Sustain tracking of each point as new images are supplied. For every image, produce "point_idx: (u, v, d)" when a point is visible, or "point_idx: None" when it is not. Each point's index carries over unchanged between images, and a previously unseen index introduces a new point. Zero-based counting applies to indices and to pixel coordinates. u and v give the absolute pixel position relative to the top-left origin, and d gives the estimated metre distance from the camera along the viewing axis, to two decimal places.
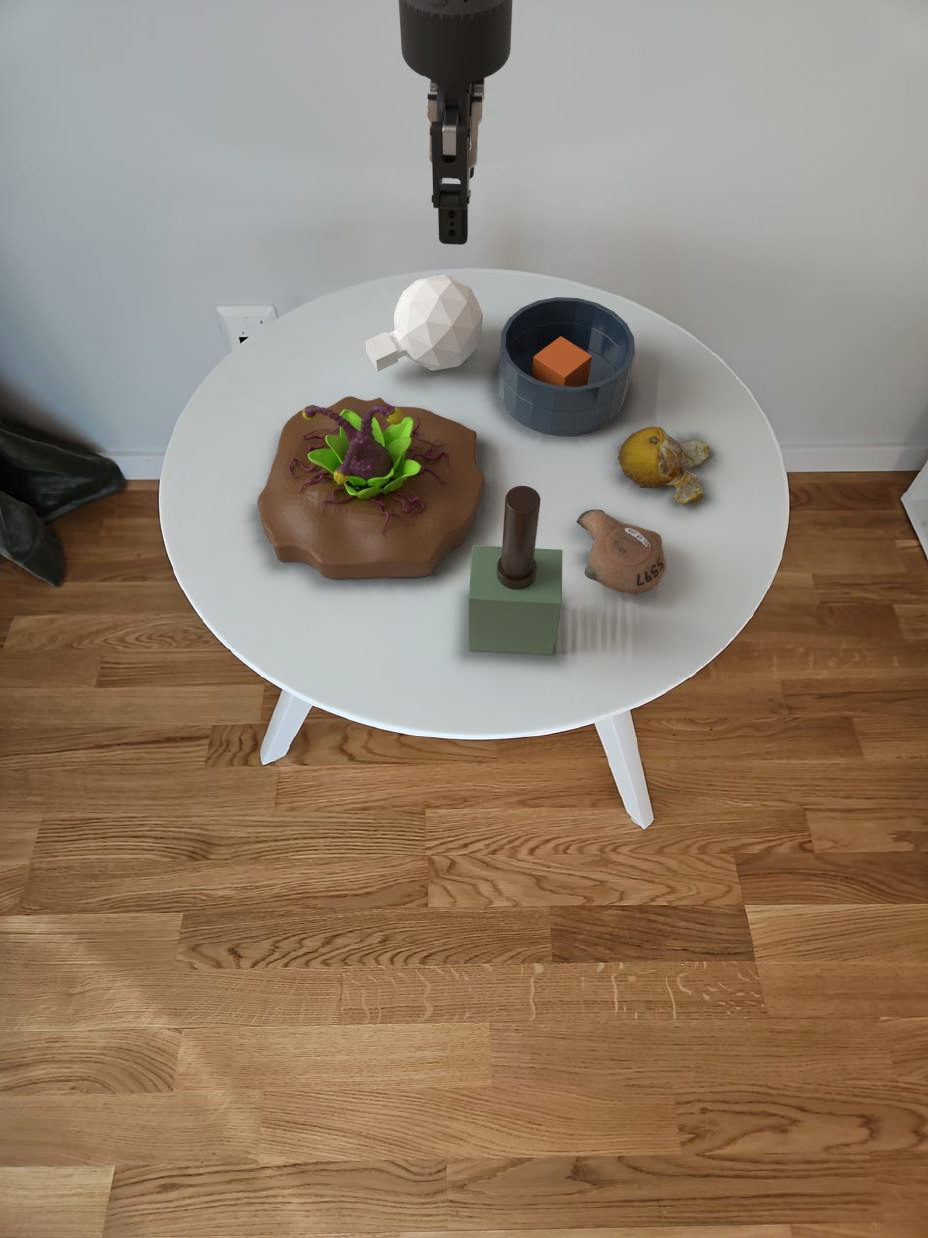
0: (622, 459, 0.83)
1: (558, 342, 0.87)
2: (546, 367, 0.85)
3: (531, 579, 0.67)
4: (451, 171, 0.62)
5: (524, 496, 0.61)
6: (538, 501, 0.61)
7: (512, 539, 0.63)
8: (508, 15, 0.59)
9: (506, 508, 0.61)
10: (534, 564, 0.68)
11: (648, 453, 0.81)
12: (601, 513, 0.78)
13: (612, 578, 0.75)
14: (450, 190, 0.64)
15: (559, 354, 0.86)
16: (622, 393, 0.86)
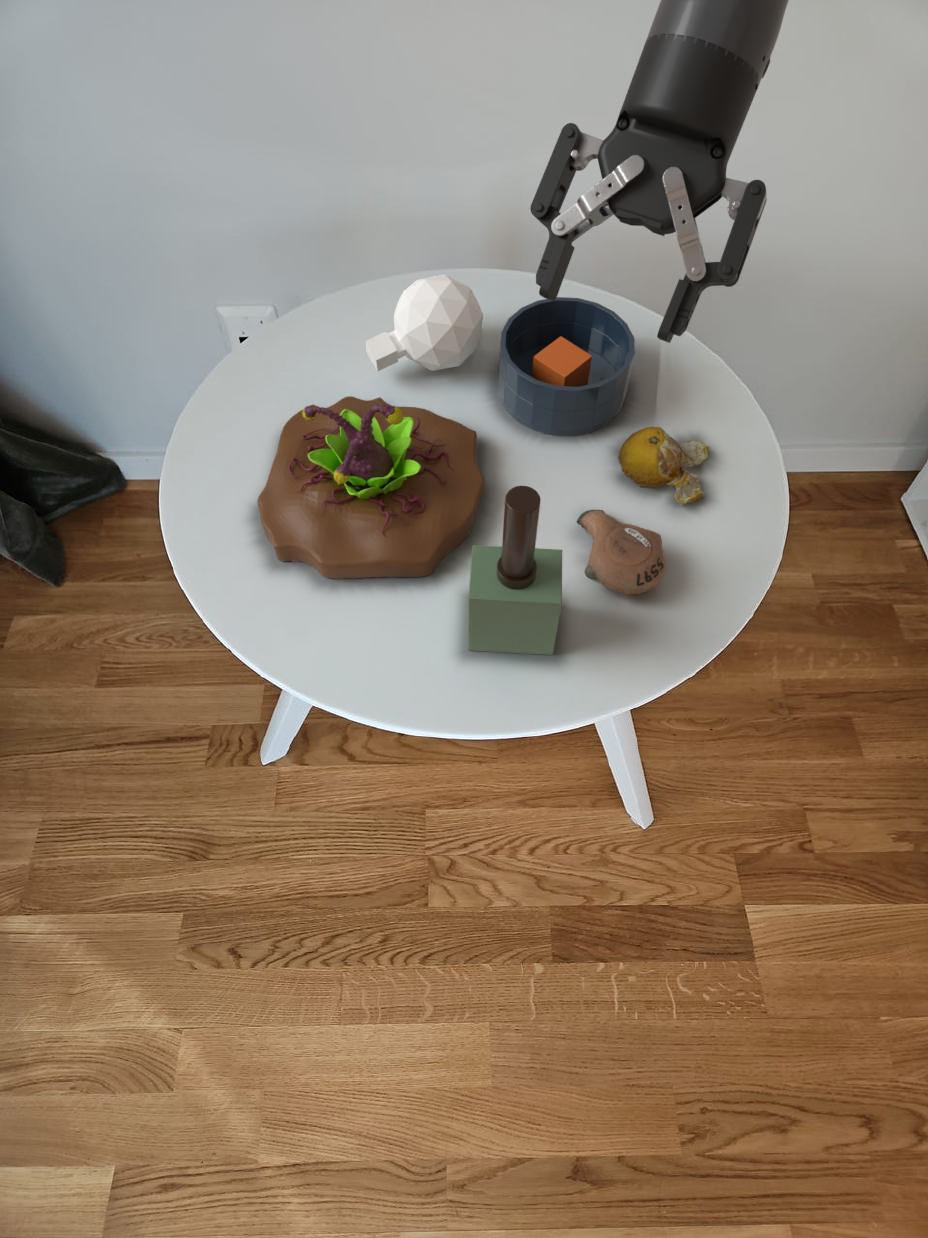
0: (622, 459, 0.83)
1: (558, 342, 0.87)
2: (546, 367, 0.85)
3: (531, 579, 0.67)
4: None
5: (524, 496, 0.61)
6: (538, 501, 0.61)
7: (512, 539, 0.63)
8: (669, 54, 0.53)
9: (506, 508, 0.61)
10: (534, 564, 0.68)
11: (648, 453, 0.81)
12: (601, 513, 0.78)
13: (612, 578, 0.75)
14: None
15: (559, 354, 0.86)
16: (622, 393, 0.86)
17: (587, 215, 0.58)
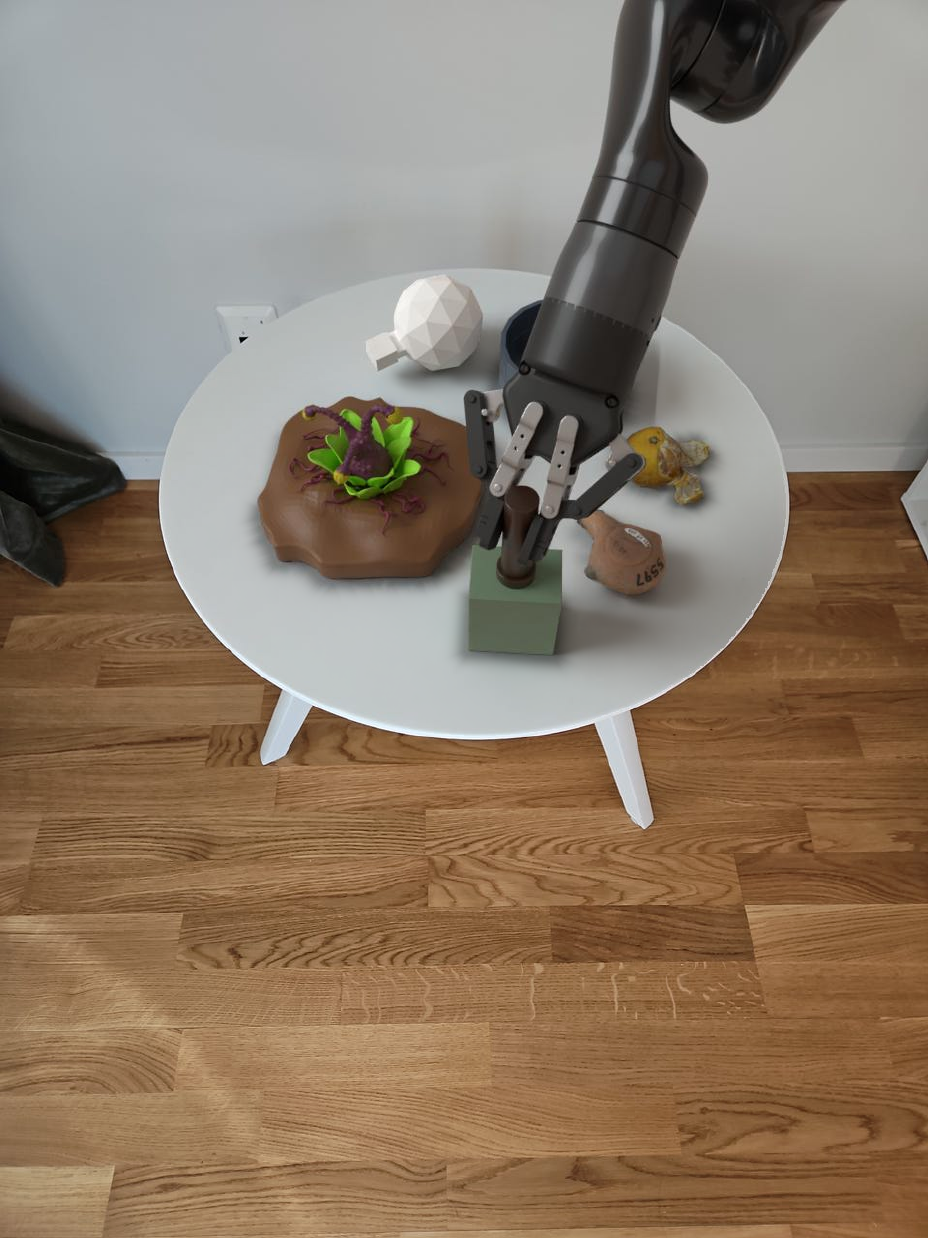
0: None
1: None
2: None
3: (530, 579, 0.67)
4: None
5: (523, 496, 0.61)
6: (537, 501, 0.61)
7: (511, 539, 0.63)
8: (561, 320, 0.56)
9: (505, 508, 0.61)
10: (533, 564, 0.68)
11: (647, 453, 0.81)
12: (601, 513, 0.78)
13: (612, 578, 0.75)
14: (489, 462, 0.63)
15: None
16: None
17: (516, 468, 0.61)
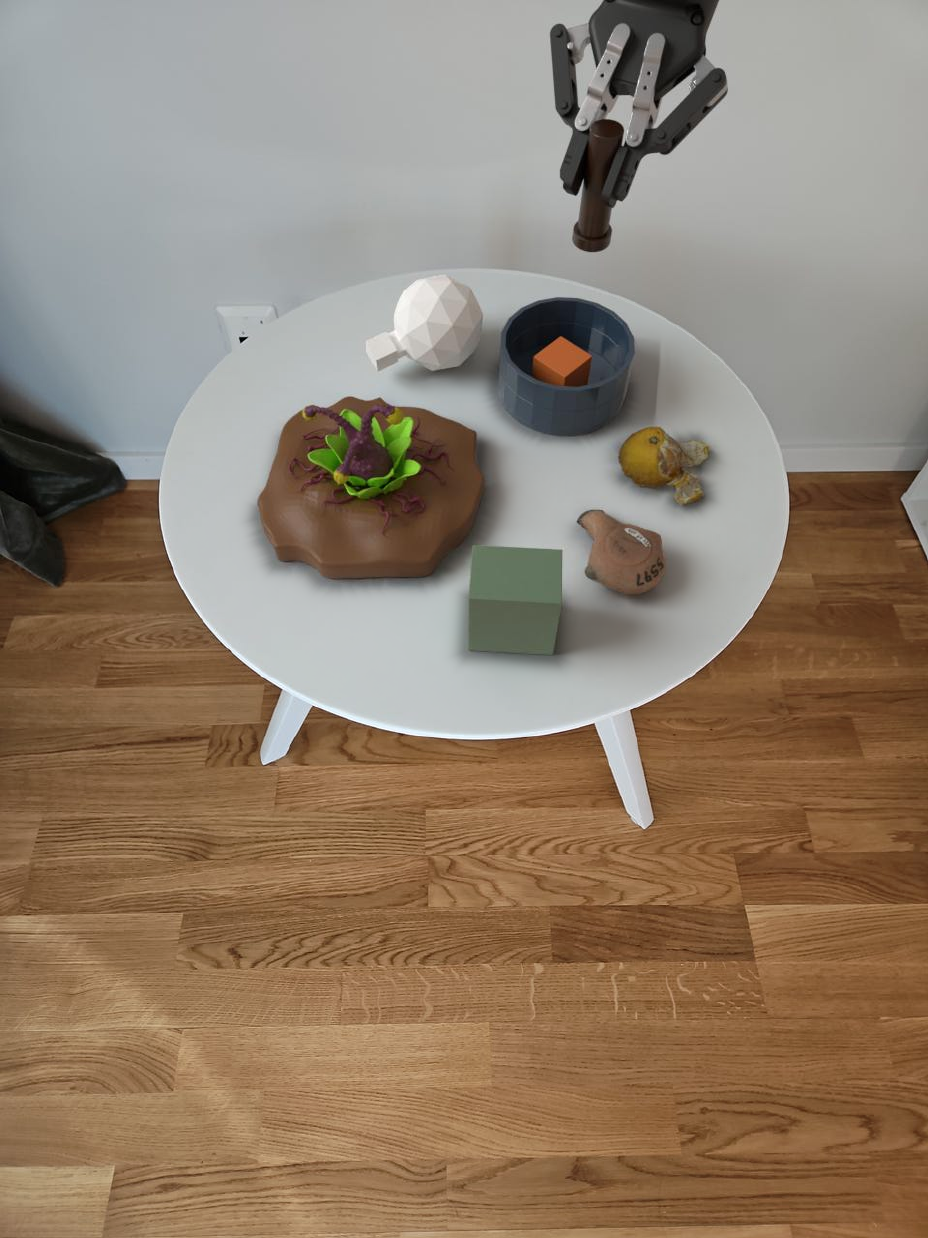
0: (622, 459, 0.83)
1: (558, 342, 0.87)
2: (546, 367, 0.85)
3: (607, 240, 0.70)
4: None
5: (608, 126, 0.63)
6: (622, 130, 0.63)
7: (594, 179, 0.65)
8: None
9: (591, 138, 0.63)
10: (609, 227, 0.70)
11: (648, 453, 0.81)
12: (601, 513, 0.78)
13: (612, 578, 0.75)
14: None
15: (559, 354, 0.86)
16: (622, 393, 0.86)
17: (602, 98, 0.63)
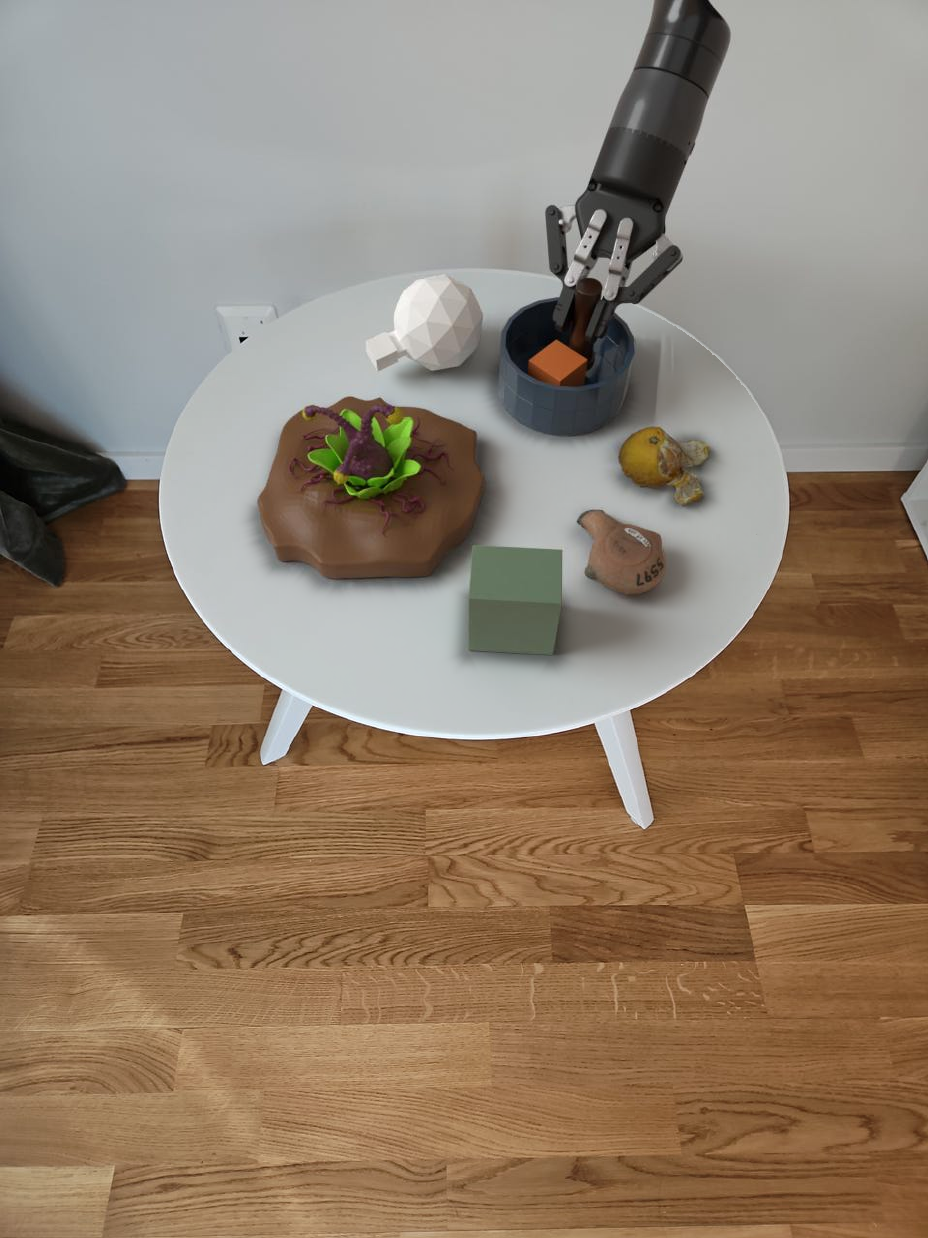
0: (622, 459, 0.83)
1: (553, 346, 0.86)
2: (541, 370, 0.85)
3: (591, 363, 0.88)
4: None
5: (590, 284, 0.81)
6: (601, 287, 0.81)
7: (579, 322, 0.84)
8: (622, 141, 0.76)
9: (576, 293, 0.82)
10: (593, 352, 0.88)
11: (648, 453, 0.81)
12: (601, 513, 0.78)
13: (612, 578, 0.75)
14: None
15: (555, 358, 0.86)
16: (622, 393, 0.86)
17: (585, 263, 0.81)
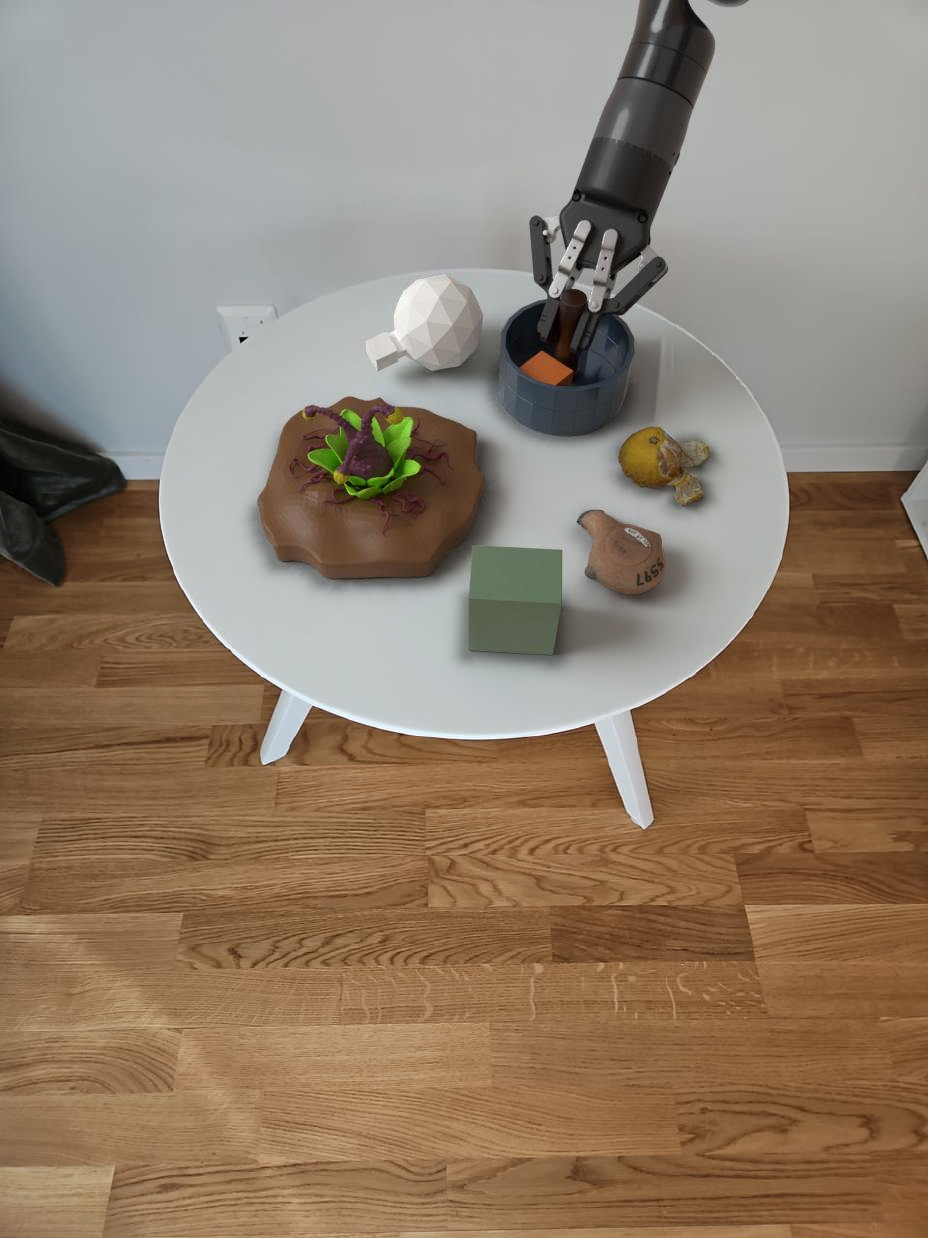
0: (622, 459, 0.83)
1: (539, 357, 0.86)
2: None
3: (577, 374, 0.87)
4: None
5: (575, 296, 0.81)
6: (585, 299, 0.80)
7: (564, 333, 0.83)
8: (606, 152, 0.76)
9: (561, 305, 0.81)
10: (579, 363, 0.87)
11: (648, 453, 0.81)
12: (601, 513, 0.78)
13: (612, 578, 0.75)
14: None
15: (540, 369, 0.85)
16: (622, 393, 0.86)
17: (569, 274, 0.80)
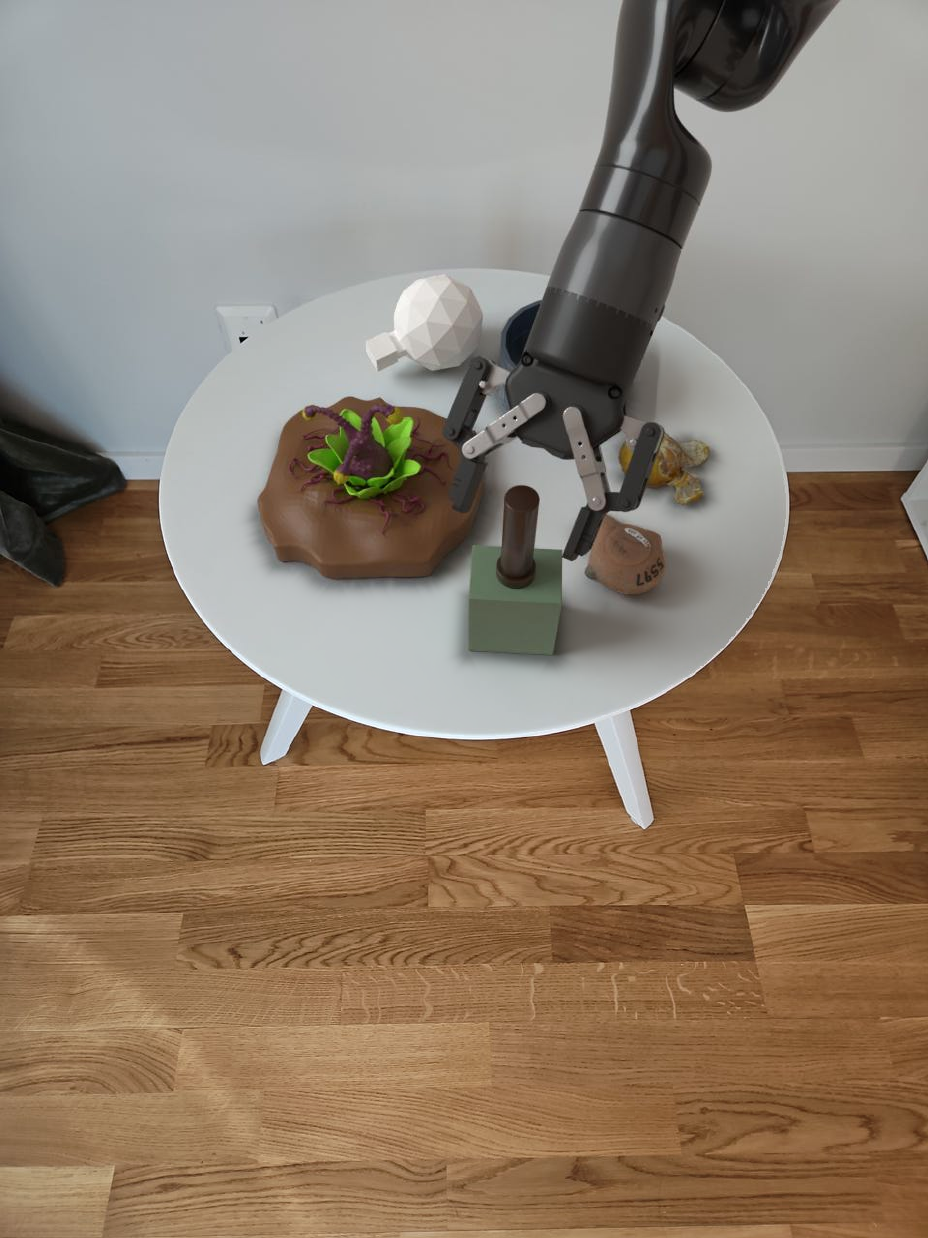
0: (622, 459, 0.83)
1: None
2: None
3: (530, 578, 0.67)
4: None
5: (523, 496, 0.61)
6: (537, 501, 0.61)
7: (511, 538, 0.63)
8: (564, 310, 0.56)
9: (505, 507, 0.61)
10: (533, 563, 0.68)
11: None
12: None
13: (612, 578, 0.75)
14: None
15: None
16: None
17: (495, 442, 0.61)
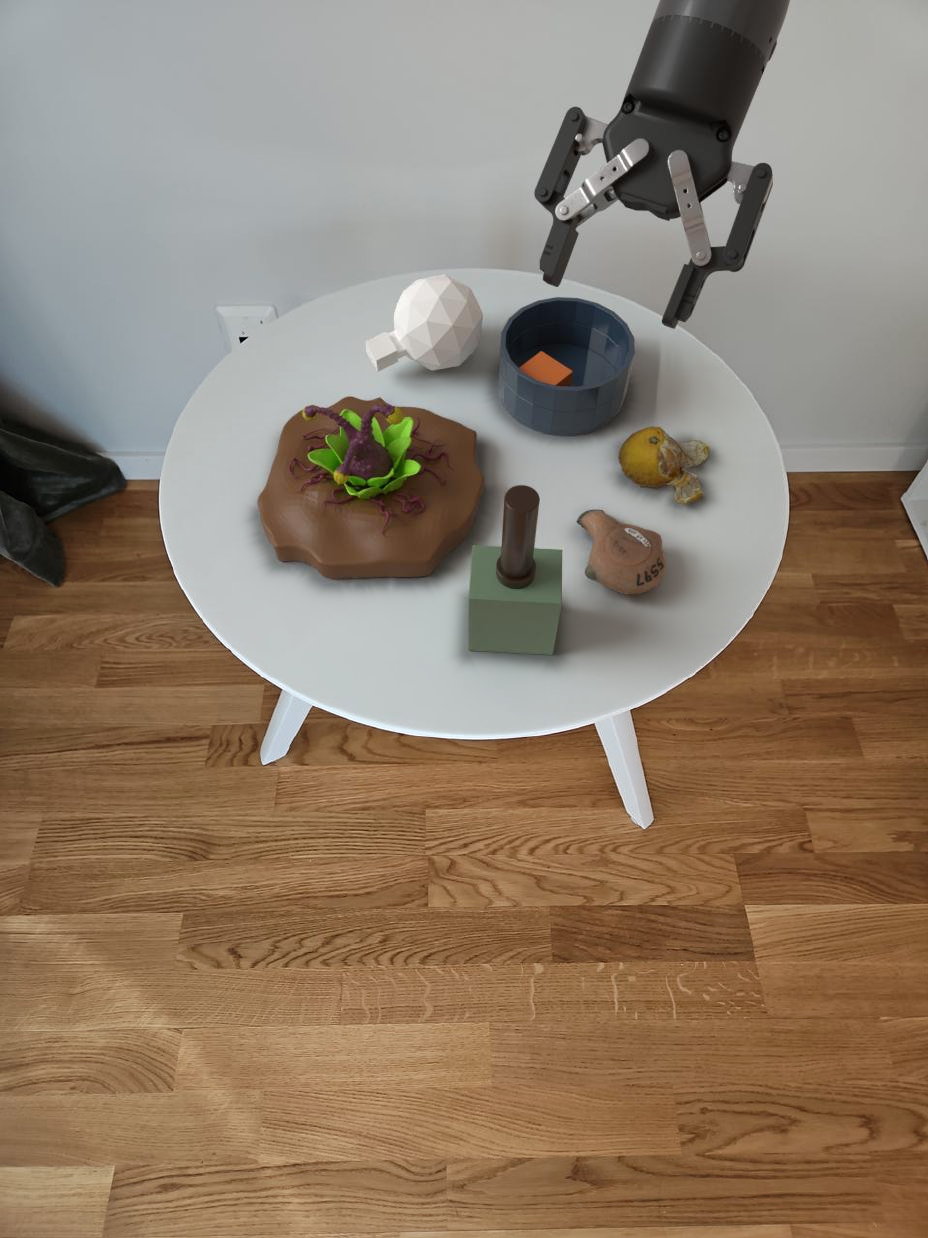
0: (622, 459, 0.83)
1: (538, 357, 0.86)
2: None
3: (530, 578, 0.67)
4: None
5: (523, 496, 0.61)
6: (537, 501, 0.61)
7: (511, 538, 0.63)
8: (674, 36, 0.53)
9: (505, 507, 0.61)
10: (533, 563, 0.68)
11: (648, 453, 0.81)
12: (601, 513, 0.78)
13: (612, 578, 0.75)
14: None
15: (540, 369, 0.85)
16: (622, 393, 0.86)
17: (591, 199, 0.58)
